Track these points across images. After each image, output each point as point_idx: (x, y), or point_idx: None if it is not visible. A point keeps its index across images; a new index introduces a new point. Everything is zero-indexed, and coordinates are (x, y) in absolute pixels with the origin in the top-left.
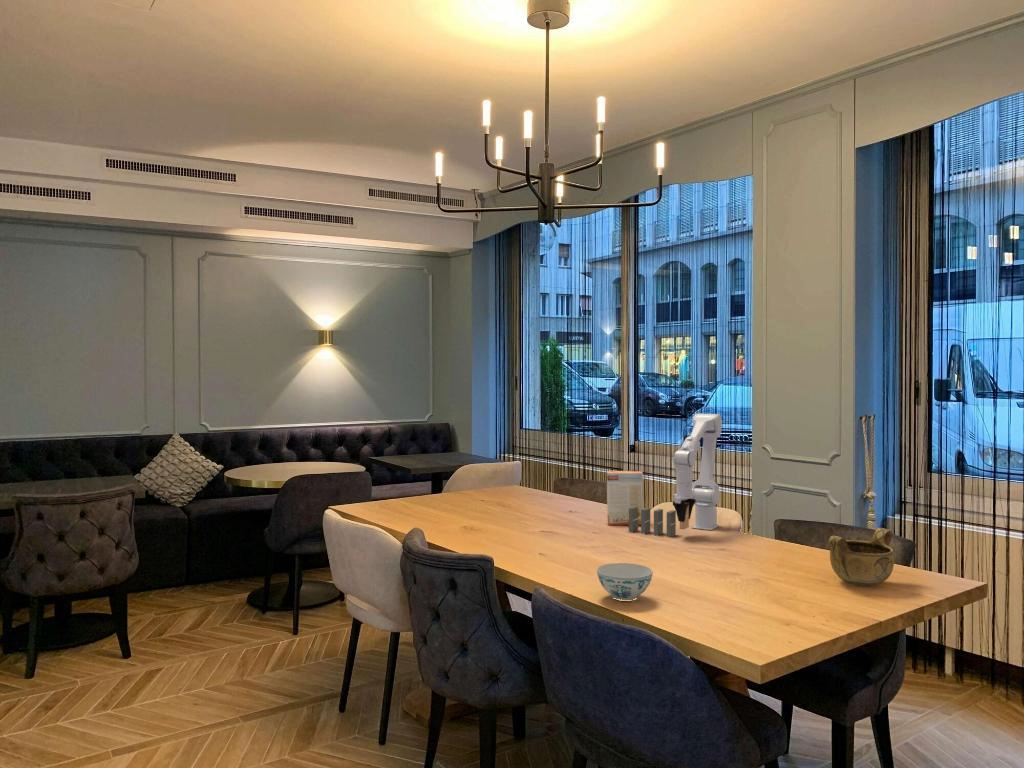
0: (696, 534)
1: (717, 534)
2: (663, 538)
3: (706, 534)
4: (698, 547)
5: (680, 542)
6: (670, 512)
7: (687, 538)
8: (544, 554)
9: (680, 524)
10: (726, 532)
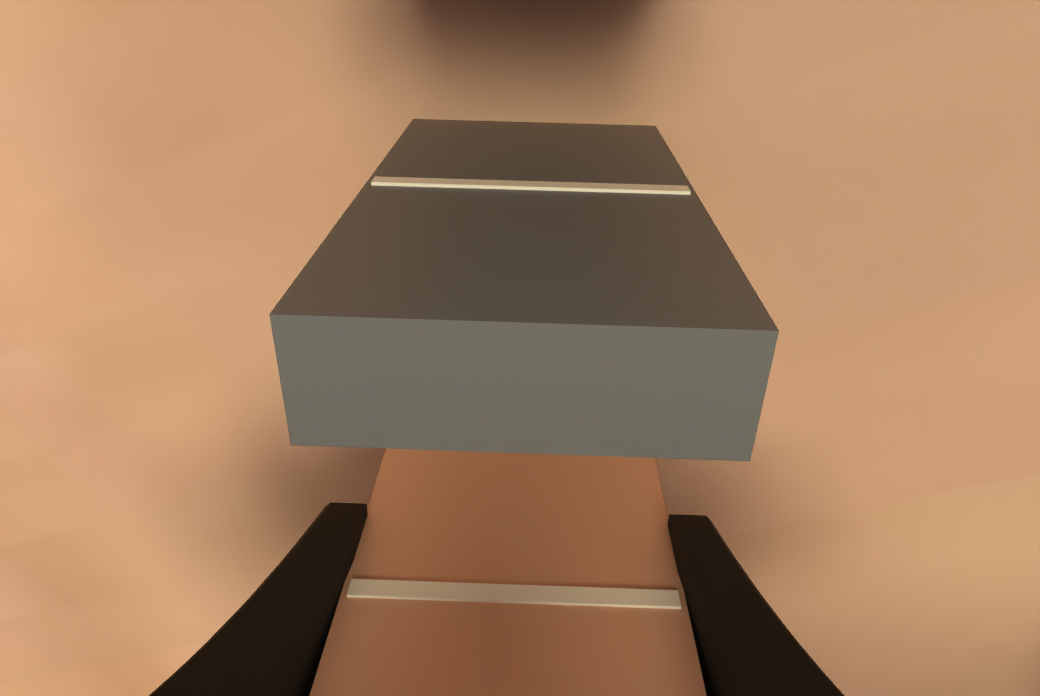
0: (795, 445)
1: (886, 626)
2: (263, 116)
3: (842, 539)
4: (125, 615)
5: (199, 409)
6: (332, 423)
7: None
8: None
9: (382, 480)
10: (1035, 672)
